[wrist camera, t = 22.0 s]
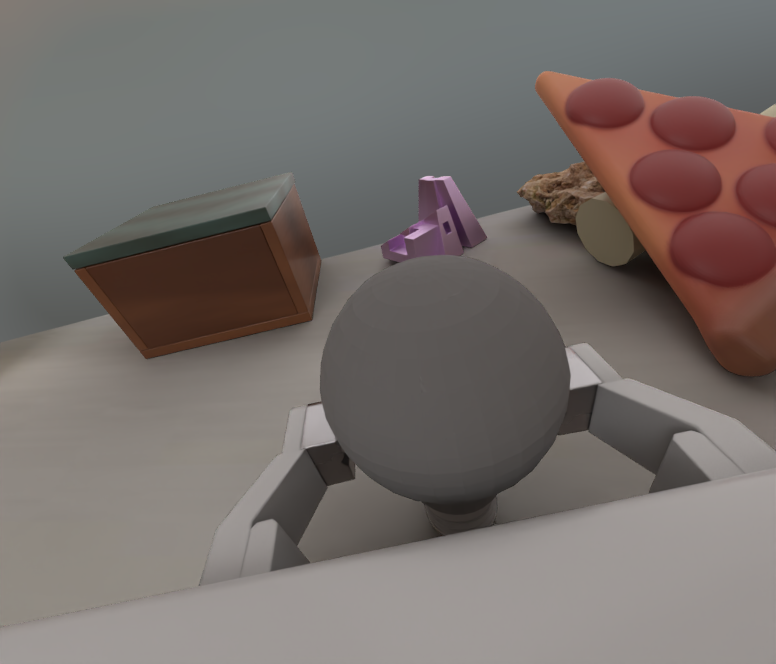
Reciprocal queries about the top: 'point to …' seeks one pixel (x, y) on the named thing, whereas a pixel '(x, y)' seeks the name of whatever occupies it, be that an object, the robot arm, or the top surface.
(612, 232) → the flower vase
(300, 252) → the brown open box
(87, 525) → the top surface
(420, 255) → the letters
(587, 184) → the rock
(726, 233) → the pizza slice
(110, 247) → the dark green box lid
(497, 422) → the light bulb
